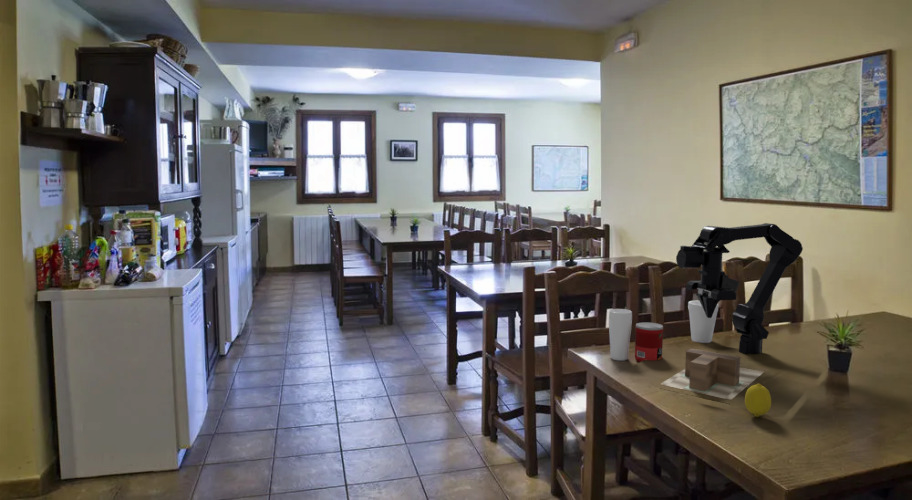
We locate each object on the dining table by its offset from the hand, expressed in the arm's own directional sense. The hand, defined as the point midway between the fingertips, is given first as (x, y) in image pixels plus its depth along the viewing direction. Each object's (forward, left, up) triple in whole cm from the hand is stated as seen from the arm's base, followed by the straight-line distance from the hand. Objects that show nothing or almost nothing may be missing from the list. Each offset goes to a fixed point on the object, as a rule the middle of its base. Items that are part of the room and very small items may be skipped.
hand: (709, 317), depth 193 cm
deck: (+17, +18, -13) cm, 28 cm away
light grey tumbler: (+26, -10, -13) cm, 31 cm away
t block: (+22, +21, -11) cm, 33 cm away
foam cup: (-14, -16, -13) cm, 24 cm away
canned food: (+19, -5, -13) cm, 23 cm away
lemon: (+27, +41, -13) cm, 51 cm away
